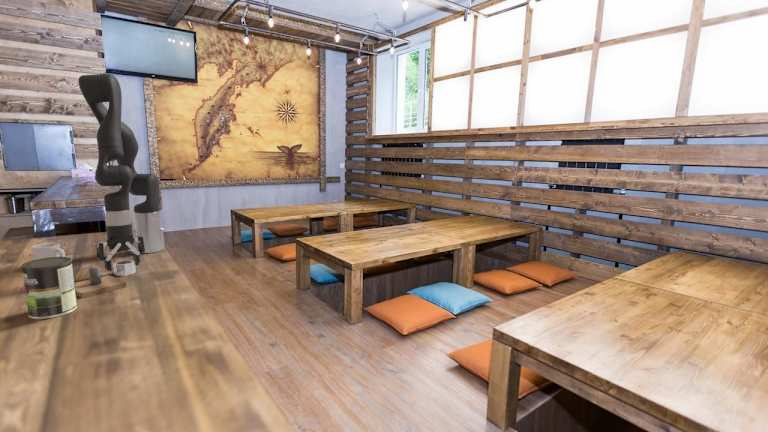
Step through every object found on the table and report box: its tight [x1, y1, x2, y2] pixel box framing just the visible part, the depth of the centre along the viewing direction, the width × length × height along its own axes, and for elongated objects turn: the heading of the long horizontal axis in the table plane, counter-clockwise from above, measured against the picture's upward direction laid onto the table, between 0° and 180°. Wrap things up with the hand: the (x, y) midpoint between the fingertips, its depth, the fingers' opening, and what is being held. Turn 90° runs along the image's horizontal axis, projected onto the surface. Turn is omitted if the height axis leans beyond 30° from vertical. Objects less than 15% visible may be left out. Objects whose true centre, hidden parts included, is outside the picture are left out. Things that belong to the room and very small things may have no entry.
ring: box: [112, 259, 137, 277], centre depth 137 cm, size 6×6×4 cm
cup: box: [31, 242, 66, 260], centre depth 143 cm, size 11×8×8 cm
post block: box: [74, 266, 127, 299], centre depth 122 cm, size 12×12×6 cm
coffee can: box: [20, 256, 78, 320], centre depth 104 cm, size 10×10×14 cm
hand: (123, 267), depth 136 cm, fingers open, 8 cm apart
